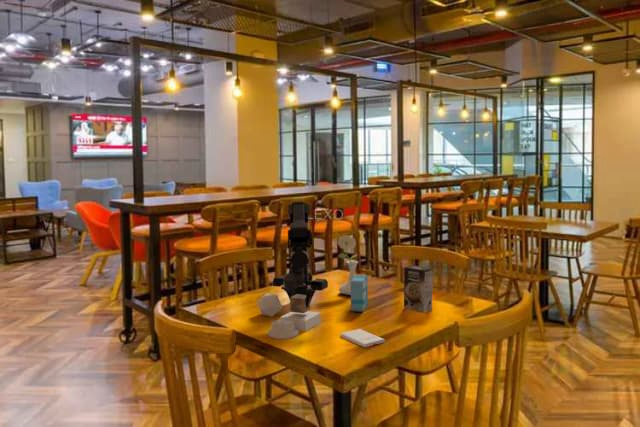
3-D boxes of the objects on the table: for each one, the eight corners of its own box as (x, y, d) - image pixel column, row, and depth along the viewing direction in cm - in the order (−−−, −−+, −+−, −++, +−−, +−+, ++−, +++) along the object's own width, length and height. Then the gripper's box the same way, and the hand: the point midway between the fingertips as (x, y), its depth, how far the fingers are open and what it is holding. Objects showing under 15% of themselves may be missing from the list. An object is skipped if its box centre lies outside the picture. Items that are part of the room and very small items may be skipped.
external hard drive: (360, 333, 182) (384, 343, 172) (340, 338, 178) (364, 348, 167) (360, 328, 182) (385, 338, 172) (340, 333, 177) (364, 343, 167)
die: (286, 316, 203) (280, 292, 208) (278, 310, 196) (272, 285, 200) (266, 323, 205) (261, 299, 209) (257, 317, 197) (252, 293, 202)
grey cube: (290, 311, 188) (290, 297, 188) (297, 308, 193) (296, 294, 192) (303, 313, 186) (303, 298, 186) (309, 309, 191) (309, 295, 190)
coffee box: (403, 308, 209) (403, 267, 207) (412, 305, 213) (412, 264, 212) (423, 313, 202) (424, 270, 201) (433, 309, 207) (433, 267, 205)
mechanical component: (262, 336, 179) (287, 341, 174) (261, 323, 178) (286, 328, 173) (279, 328, 187) (304, 333, 182) (279, 315, 187) (304, 320, 182)
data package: (362, 313, 204) (362, 281, 202) (350, 312, 205) (350, 280, 203) (367, 304, 215) (367, 274, 214) (356, 304, 216) (356, 274, 215)
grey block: (280, 328, 188) (280, 316, 188) (295, 320, 197) (295, 309, 196) (306, 332, 183) (305, 320, 183) (320, 324, 192) (320, 312, 192)
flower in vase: (370, 292, 234) (370, 234, 231) (357, 298, 224) (357, 238, 222) (344, 289, 241) (343, 232, 238) (330, 294, 231) (329, 235, 229)
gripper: (264, 265, 184) (265, 310, 186) (314, 269, 177) (315, 316, 178) (279, 259, 194) (280, 302, 196) (328, 262, 187) (328, 307, 189)
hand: (300, 307), depth 190 cm, fingers closed on grey cube, 5 cm apart
